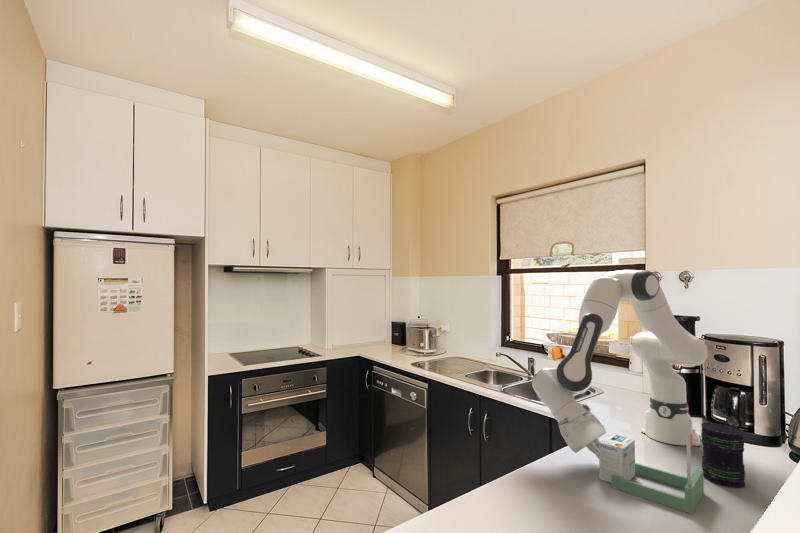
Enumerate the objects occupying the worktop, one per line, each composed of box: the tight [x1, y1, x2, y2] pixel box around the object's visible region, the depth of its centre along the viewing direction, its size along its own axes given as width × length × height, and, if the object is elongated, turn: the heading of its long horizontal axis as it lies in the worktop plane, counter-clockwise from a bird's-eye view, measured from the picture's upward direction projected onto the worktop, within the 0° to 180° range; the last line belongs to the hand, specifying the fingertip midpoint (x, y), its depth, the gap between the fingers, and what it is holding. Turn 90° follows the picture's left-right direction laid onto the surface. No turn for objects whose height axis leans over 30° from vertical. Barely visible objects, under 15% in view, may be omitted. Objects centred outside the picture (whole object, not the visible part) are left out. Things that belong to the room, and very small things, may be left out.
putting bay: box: [611, 433, 705, 515], centre depth 111 cm, size 15×18×18 cm
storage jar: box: [700, 421, 746, 489], centre depth 117 cm, size 10×10×15 cm
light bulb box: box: [598, 433, 636, 484], centre depth 118 cm, size 11×7×11 cm, turn 133°
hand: (603, 456), depth 121 cm, fingers closed, pressing on light bulb box
